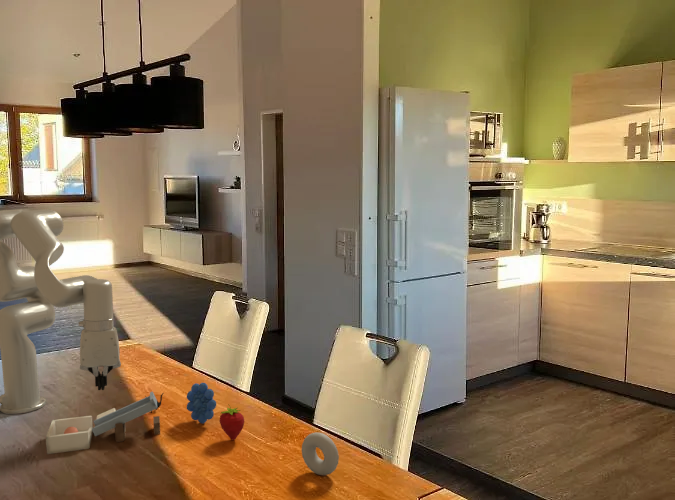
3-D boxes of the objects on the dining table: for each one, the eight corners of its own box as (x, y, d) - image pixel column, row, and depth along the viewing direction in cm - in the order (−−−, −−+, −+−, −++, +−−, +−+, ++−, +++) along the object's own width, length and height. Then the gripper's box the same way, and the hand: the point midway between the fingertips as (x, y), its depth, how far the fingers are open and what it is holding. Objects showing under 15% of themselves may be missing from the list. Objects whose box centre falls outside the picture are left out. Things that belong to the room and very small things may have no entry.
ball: (64, 443, 170) (61, 431, 170) (66, 438, 173) (63, 426, 173) (78, 440, 171) (75, 427, 170) (80, 435, 174) (77, 423, 174)
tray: (47, 454, 165) (45, 437, 164) (53, 435, 176) (52, 420, 176) (89, 448, 168) (87, 432, 167) (92, 430, 179) (91, 415, 179)
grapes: (227, 422, 183) (226, 381, 181) (209, 430, 177) (207, 388, 176) (200, 413, 190) (198, 374, 188) (181, 421, 184) (179, 380, 183)
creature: (132, 418, 191) (156, 414, 189) (127, 401, 190) (151, 396, 188) (146, 408, 198) (169, 404, 196) (141, 391, 198) (164, 387, 196)
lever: (95, 438, 171) (90, 426, 170) (99, 420, 183) (94, 409, 183) (158, 410, 174) (152, 398, 174) (157, 394, 187) (152, 383, 186)
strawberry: (231, 447, 166) (229, 410, 165) (215, 439, 172) (213, 403, 170) (250, 440, 170) (248, 404, 169) (233, 432, 176) (232, 397, 174)
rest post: (154, 434, 176) (153, 423, 175) (154, 427, 180) (153, 416, 180) (160, 434, 176) (159, 422, 176) (160, 427, 181) (159, 416, 180)
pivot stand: (115, 442, 171) (114, 424, 171) (116, 431, 178) (115, 414, 178) (124, 441, 172) (123, 423, 171) (125, 430, 179) (124, 413, 178)
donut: (299, 471, 152) (297, 430, 151) (308, 466, 155) (307, 425, 154) (333, 483, 146) (332, 440, 145) (342, 477, 149) (341, 435, 148)
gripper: (68, 329, 173) (71, 395, 176) (127, 326, 178) (129, 390, 180) (71, 322, 180) (74, 386, 183) (127, 319, 185) (129, 381, 187)
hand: (101, 388), depth 182 cm, fingers closed
